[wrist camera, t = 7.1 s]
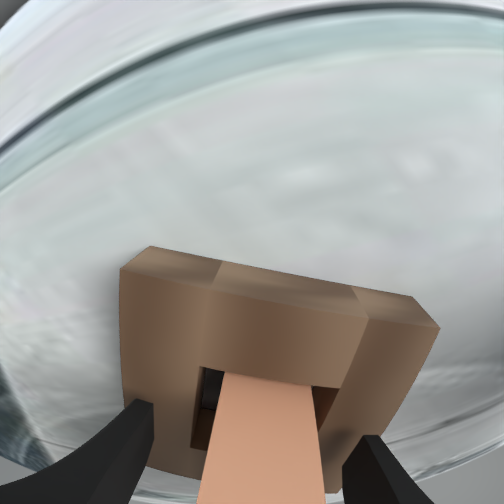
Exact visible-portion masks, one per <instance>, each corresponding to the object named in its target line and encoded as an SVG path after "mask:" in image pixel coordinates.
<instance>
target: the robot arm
mask: <svg viewBox="0 0 504 504" xmlns="http://www.w3.org/2000/svg"><path fill="white" fill-rule="evenodd" d="M153 442H154V406H153V403H150V402H147V401H144V400H140V399H137V398H136V399H134V400H133V401H132V402H131V403H130V404H129V405H128V406H127V407H126V408H125V409H124V410H123V411H122V412H121V413H120V414H119V415H118V416H117V417H116V418H115V419H113V420H112V421H111V422H110V423H109V424H108V425H107V426H106V427H104V428H103V429H102V430H101V431H100V432H99V433H97V434H96V435H95V436H94V437H93V438H91V439H90V440H89V441H87V442H86V443H85V444H83V445H82V446H81V447H79V448H78V449H76V450H75V451H74V452H72V453H71V454H69V455H68V456H66V457H64V458H63V459H61V460H59V461H58V462H56V463H54V464H53V465H51V466H49V467H47V468H45V469H43V470H41V471H39V472H37V473H35V474H33V475H30V476H28V477H25V478H22V479H20V480H17V481H14V482H11V483H8V484H5V485H1V486H0V504H128V503H129V501H130V499H131V496H132V494H133V492H134V490H135V488H136V485H137V483H138V481H139V479H140V477H141V475H142V472H143V470H144V468H145V466H146V463H147V461H148V458H149V455H150V451H151V448H152V445H153ZM342 490H343V497H344V503H345V504H434V503H433V502H432V501H431V500H430V499H429V498H428V497H427V496H426V495H425V493H424V492H423V491H422V490H421V489H420V488H419V487H418V486H417V484H416V483H415V482H414V481H413V480H412V478H411V477H410V476H409V475H408V474H407V472H406V471H405V470H404V468H403V467H402V466H401V465H400V463H399V462H398V461H397V459H396V458H395V457H394V455H393V454H392V453H391V451H390V450H389V448H388V447H387V446H386V444H385V443H384V442H383V440H382V439H381V438H380V437H379V435H363V436H362V437H361V439H360V440H359V442H358V443H357V445H356V446H355V448H354V449H353V451H352V452H351V454H350V455H349V457H348V458H347V460H346V461H345V462H344V464H343V465H342Z"/></svg>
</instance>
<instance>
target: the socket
mask: <svg viewBox="0 0 504 504" xmlns="http://www.w3.org/2000/svg"><path fill="white" fill-rule="evenodd" d="M119 327H120V355H121V372H122V385H123V397H124V407H125V408H126V407H127V406H128V405H129V404H130V403H131V402H132V401H133V400H134V399H136V398H137V399H140V400H144V401H147V402H150V403H153V406H154V442H153V445H152V448H151V451H150V455H149V458H148V461H147V463H146V466H147V467H150V468H154V469H157V470H161V471H164V472H168V473H172V474H176V475H180V476H184V477H188V478H193V479H197V480H202V475H203V470H204V466H205V461H206V457H207V452H208V447H209V443H210V438H211V433H212V429H213V424H214V420H215V415H216V411H213V410H208V409H203V408H201V403H202V395H203V388H204V381H205V374H206V368H211V369H215V370H220V371H225V372H230V373H235V374H240V375H246V376H251V377H257V378H263V379H269V380H276V381H282V382H289V383H296V384H304V385H312V386H314V388H313V390H312V397H313V404H314V411H315V418H316V426H317V433H318V441H319V449H320V457H321V465H322V474H323V483H324V492H325V493H338V492H339V490H340V489H341V488H342V465H343V464H344V462H345V461H346V460H347V458H348V457H349V455H350V454H351V452H352V451H353V449H354V448H355V446H356V445H357V443H358V442H359V440H360V439H361V437H362V436H363V435H379V437H380V436H381V435H382V433H383V432H384V430H385V429H386V427H387V426H388V424H389V423H390V421H391V420H392V418H393V416H394V415H395V413H396V412H397V410H398V408H399V407H400V405H401V403H402V402H403V400H404V398H405V397H406V395H407V393H408V391H409V390H410V388H411V386H412V384H413V383H414V381H415V379H416V377H417V375H418V373H419V371H420V370H421V368H422V366H423V364H424V362H425V360H426V358H427V356H428V354H429V352H430V350H431V348H432V346H433V343H434V341H435V339H436V337H437V335H438V333H439V330H440V327H439V326H438V325H437V324H436V322H435V321H434V320H433V319H432V318H431V317H430V316H429V315H428V313H427V312H426V311H425V310H424V309H423V308H422V307H421V306H420V305H419V303H418V302H417V301H416V300H415V299H414V298H413V297H411V296H405V295H400V294H394V293H389V292H383V291H378V290H372V289H367V288H362V287H356V286H351V285H345V284H340V283H335V282H329V281H324V280H319V279H314V278H308V277H303V276H298V275H293V274H288V273H282V272H277V271H272V270H267V269H262V268H257V267H252V266H247V265H242V264H237V263H232V262H227V261H222V260H217V259H212V258H207V257H202V256H197V255H192V254H187V253H183V252H178V251H173V250H168V249H163V248H158V247H154V246H149V247H148V248H146V249H145V250H144V251H142V252H141V253H140V254H139V255H137V256H136V257H135V258H133V259H132V260H131V261H129V262H128V263H127V264H126V265H124V266H123V267H122V268H120V282H119Z"/></svg>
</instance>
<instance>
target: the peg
mask: <svg viewBox="0 0 504 504" xmlns="http://www.w3.org/2000/svg"><path fill="white" fill-rule="evenodd" d="M196 504H326V501H325V492H324V483H323V474H322V465H321V457H320V449H319V441H318V433H317V426H316V418H315V411H314V404H313V397H312V390H311V385H304V384H296V383H289V382H282V381H276V380H269V379H263V378H257V377H251V376H246V375H240V374H235V373H230V372H225V374H224V378H223V383H222V387H221V392H220V397H219V401H218V406H217V410H216V415H215V420H214V424H213V429H212V433H211V438H210V443H209V447H208V452H207V457H206V461H205V466H204V470H203V475H202V480H201V484H200V489H199V494H198V498H197V503H196Z"/></svg>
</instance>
